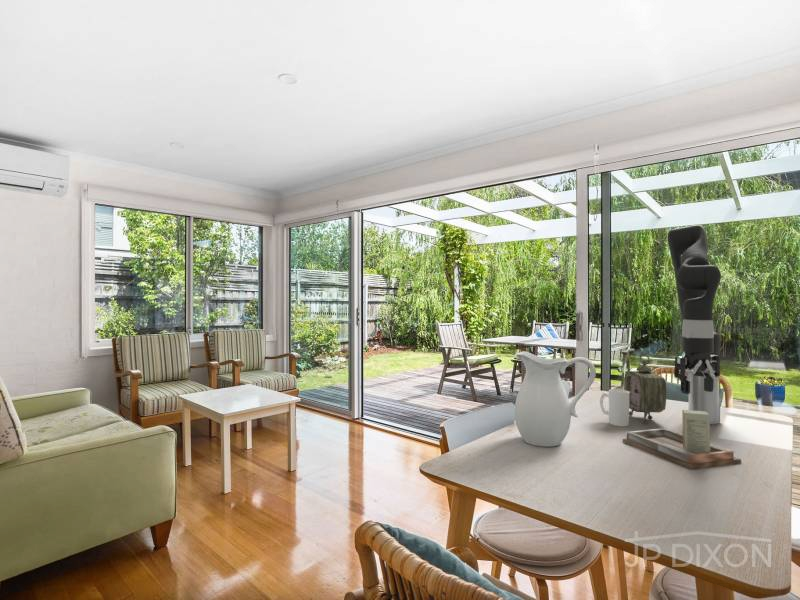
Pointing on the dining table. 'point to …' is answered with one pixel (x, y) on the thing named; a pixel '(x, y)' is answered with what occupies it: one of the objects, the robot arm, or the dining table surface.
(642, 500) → the dining table surface
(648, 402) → the tabletop clock
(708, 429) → the skincare box
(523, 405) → the pitcher
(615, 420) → the mug
